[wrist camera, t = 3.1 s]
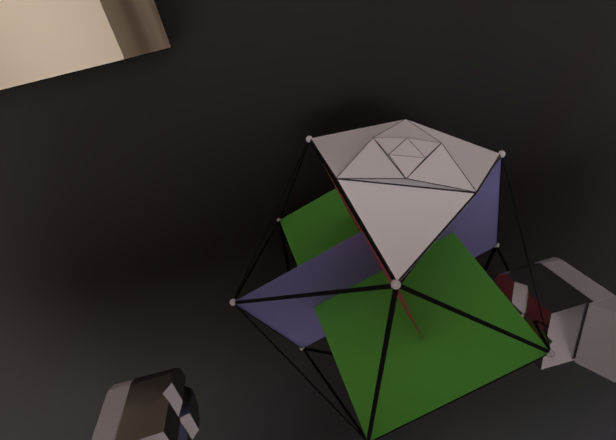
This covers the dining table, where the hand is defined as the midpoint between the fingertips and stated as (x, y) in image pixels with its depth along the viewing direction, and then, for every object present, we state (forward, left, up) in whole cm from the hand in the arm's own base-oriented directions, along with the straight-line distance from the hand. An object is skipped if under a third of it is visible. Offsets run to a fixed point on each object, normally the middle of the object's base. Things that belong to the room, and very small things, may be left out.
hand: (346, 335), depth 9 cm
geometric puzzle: (-1, -1, -4) cm, 5 cm away
